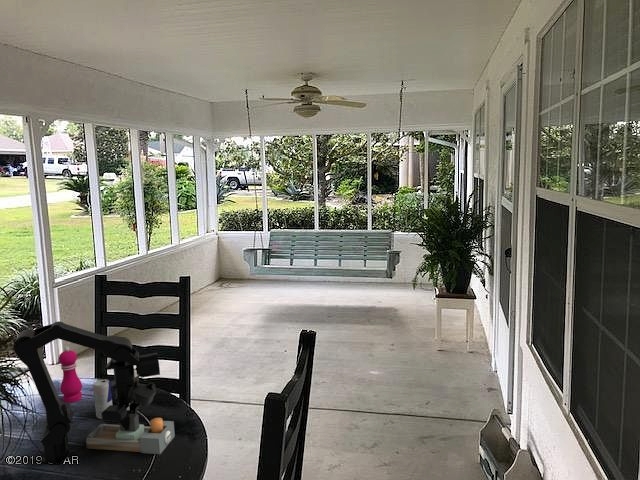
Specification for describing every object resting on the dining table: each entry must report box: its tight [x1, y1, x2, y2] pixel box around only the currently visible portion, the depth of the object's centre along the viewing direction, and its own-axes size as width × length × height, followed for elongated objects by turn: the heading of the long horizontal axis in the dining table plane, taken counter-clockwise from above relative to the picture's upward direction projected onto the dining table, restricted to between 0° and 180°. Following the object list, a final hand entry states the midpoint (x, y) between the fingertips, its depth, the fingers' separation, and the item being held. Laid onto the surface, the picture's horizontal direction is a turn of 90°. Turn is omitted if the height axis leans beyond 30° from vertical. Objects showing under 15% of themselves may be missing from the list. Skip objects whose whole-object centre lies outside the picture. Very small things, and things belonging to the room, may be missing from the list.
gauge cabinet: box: [140, 420, 176, 455], centre depth 160 cm, size 10×6×5 cm, turn 171°
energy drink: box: [92, 378, 113, 420], centre depth 178 cm, size 5×5×12 cm
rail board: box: [85, 423, 150, 453], centre depth 162 cm, size 9×18×4 cm, turn 81°
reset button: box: [149, 417, 164, 434], centre depth 159 cm, size 4×4×4 cm
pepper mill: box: [58, 346, 83, 404], centre depth 190 cm, size 7×7×20 cm
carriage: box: [116, 413, 145, 441], centre depth 161 cm, size 6×6×7 cm
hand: (129, 427), depth 161 cm, fingers open, 3 cm apart
